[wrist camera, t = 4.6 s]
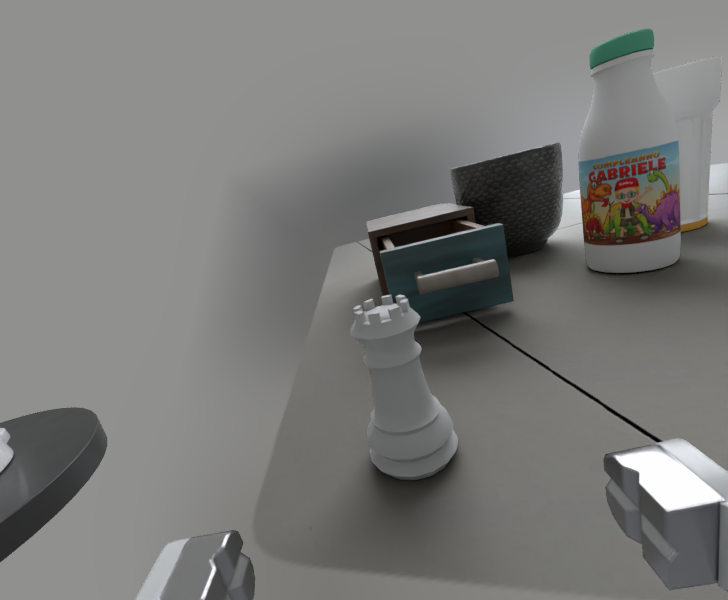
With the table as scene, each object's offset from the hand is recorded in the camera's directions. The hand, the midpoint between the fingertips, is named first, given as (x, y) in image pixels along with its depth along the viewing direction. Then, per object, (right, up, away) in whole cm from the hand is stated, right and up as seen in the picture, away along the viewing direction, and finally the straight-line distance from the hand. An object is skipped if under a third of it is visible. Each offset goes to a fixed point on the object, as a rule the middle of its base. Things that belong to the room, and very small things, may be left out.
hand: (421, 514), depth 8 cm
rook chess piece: (+1, -3, +11) cm, 12 cm away
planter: (+20, +12, +47) cm, 52 cm away
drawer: (+7, +5, +30) cm, 31 cm away
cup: (+36, +14, +40) cm, 56 cm away
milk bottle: (+25, +8, +30) cm, 40 cm away
